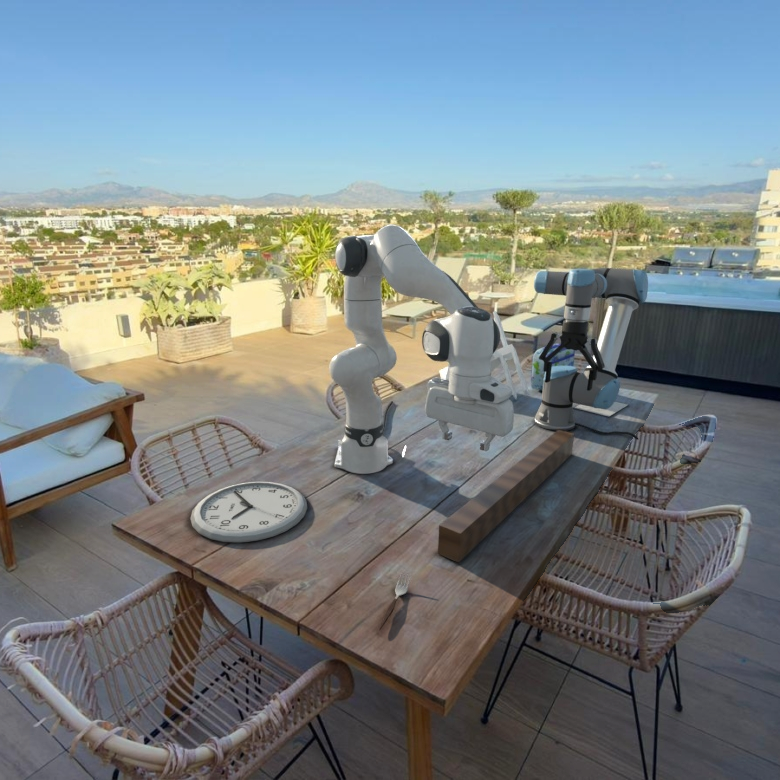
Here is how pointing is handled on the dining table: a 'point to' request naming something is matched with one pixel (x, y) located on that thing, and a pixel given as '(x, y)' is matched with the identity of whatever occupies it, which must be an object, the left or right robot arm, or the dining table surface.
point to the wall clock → (248, 512)
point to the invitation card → (605, 412)
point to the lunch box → (560, 359)
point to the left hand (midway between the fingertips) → (465, 444)
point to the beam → (502, 497)
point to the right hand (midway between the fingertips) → (567, 385)
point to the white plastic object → (501, 361)
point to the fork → (399, 591)
